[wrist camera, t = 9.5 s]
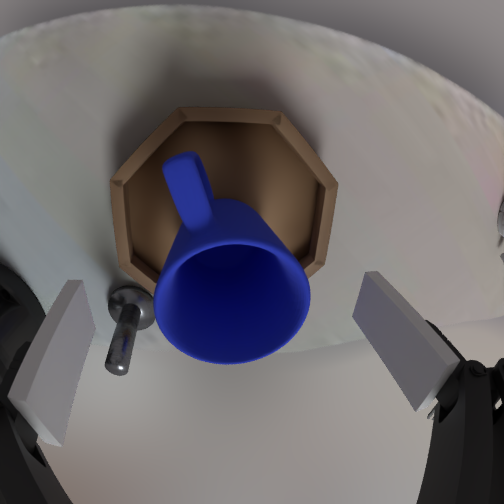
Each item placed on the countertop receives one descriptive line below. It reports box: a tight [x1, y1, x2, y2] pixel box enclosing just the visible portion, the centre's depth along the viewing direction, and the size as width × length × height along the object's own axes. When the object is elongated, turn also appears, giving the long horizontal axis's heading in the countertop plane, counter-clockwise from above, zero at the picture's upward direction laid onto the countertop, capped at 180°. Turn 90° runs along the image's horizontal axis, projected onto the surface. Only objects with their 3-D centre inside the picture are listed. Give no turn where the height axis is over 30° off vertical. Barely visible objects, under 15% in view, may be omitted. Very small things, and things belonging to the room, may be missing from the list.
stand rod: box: [105, 286, 155, 376], centre depth 24 cm, size 5×5×8 cm
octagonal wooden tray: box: [110, 107, 338, 295], centre depth 23 cm, size 17×17×4 cm
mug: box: [153, 151, 310, 364], centre depth 18 cm, size 8×12×10 cm
